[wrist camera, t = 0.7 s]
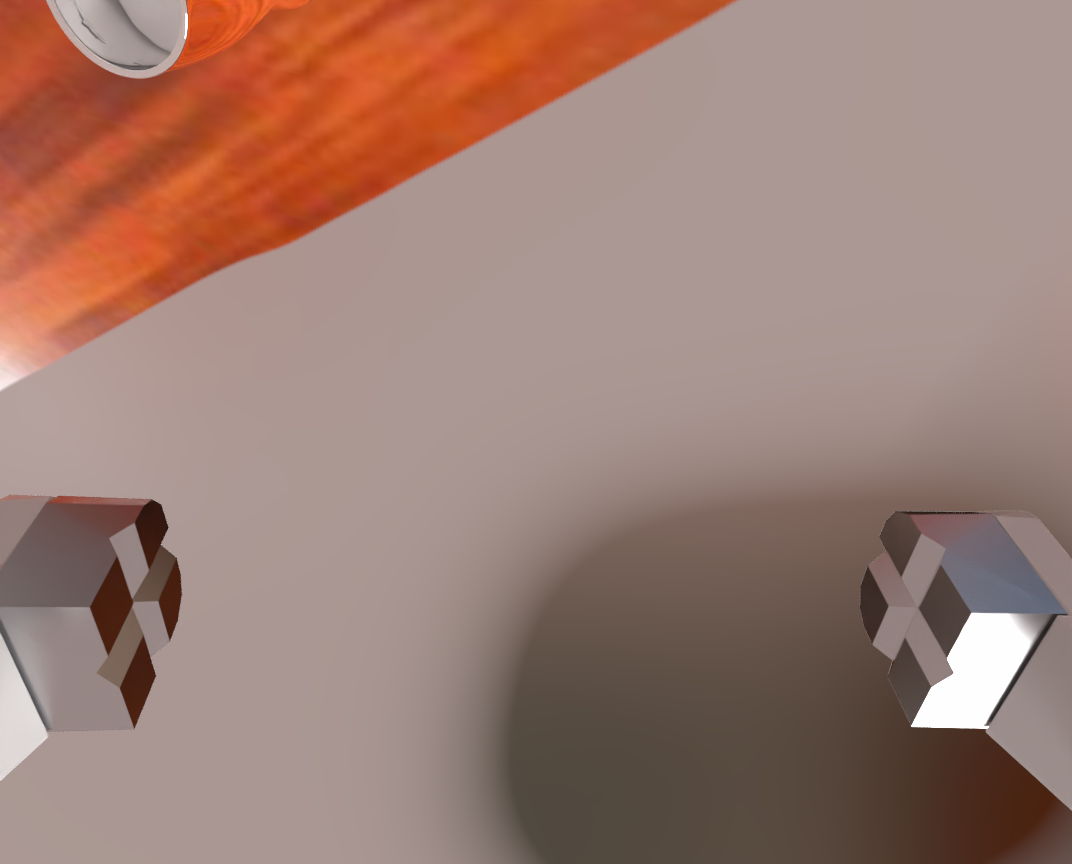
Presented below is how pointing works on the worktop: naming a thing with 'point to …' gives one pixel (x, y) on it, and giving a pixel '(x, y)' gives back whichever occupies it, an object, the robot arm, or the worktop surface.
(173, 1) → the beer glass
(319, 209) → the worktop surface
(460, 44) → the worktop surface
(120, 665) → the robot arm
